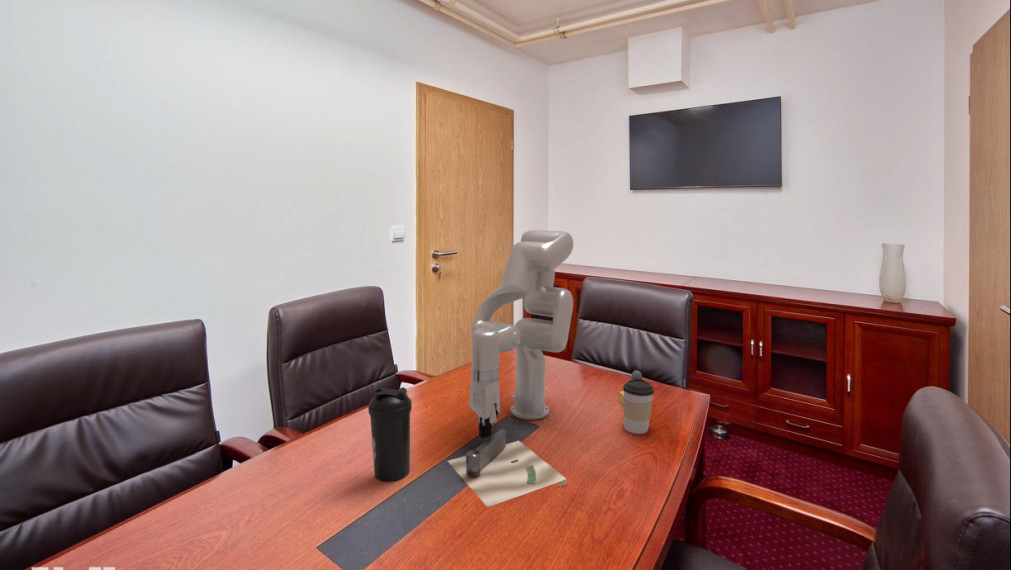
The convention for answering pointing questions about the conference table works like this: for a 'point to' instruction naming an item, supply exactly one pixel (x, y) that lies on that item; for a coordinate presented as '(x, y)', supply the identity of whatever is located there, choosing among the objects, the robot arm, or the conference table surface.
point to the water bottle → (390, 433)
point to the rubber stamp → (635, 375)
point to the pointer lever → (485, 453)
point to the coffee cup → (637, 405)
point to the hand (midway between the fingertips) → (485, 436)
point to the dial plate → (509, 474)
